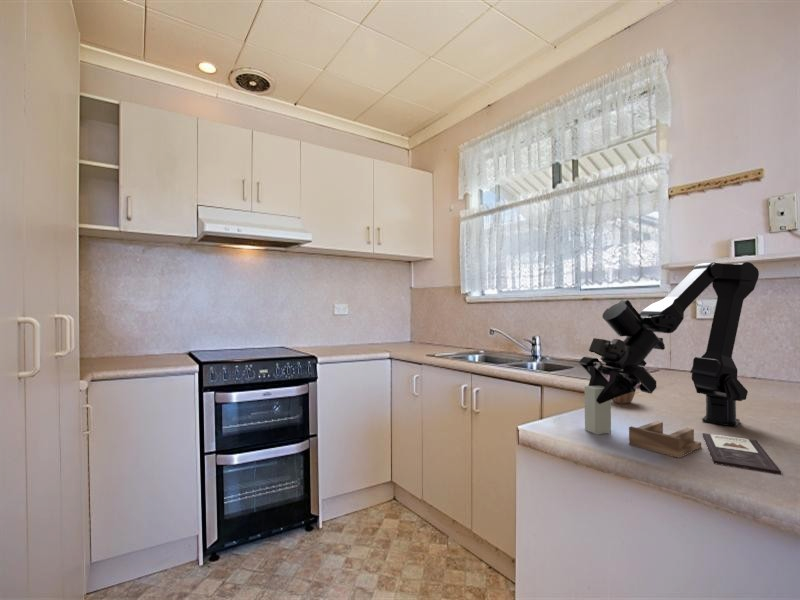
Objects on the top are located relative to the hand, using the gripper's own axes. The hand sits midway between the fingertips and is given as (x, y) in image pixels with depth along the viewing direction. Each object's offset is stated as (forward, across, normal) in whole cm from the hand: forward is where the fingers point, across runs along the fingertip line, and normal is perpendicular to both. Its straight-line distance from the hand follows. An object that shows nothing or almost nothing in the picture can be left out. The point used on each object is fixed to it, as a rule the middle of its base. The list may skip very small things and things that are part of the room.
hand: (592, 400), depth 90 cm
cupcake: (-14, -22, +24) cm, 36 cm away
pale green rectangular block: (+4, 0, +6) cm, 7 cm away
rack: (-1, +11, +11) cm, 16 cm away
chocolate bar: (-8, +17, +19) cm, 26 cm away
